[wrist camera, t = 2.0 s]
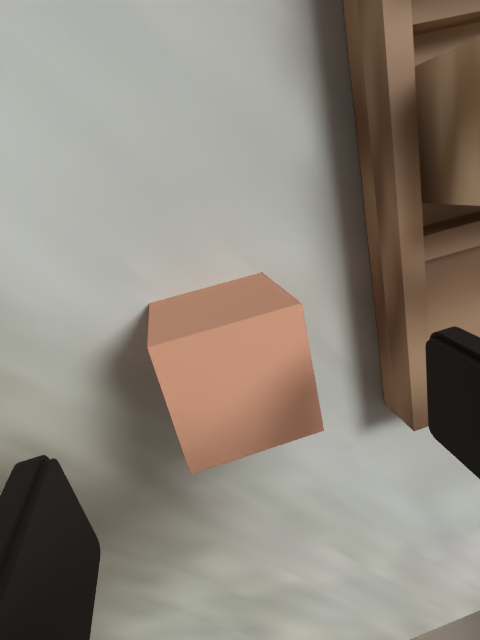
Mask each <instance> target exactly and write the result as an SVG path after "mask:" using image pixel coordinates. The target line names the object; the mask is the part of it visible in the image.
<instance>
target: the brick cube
mask: <svg viewBox="0 0 480 640" xmlns="http://www.w3.org/2000/svg"><path fill="white" fill-rule="evenodd" d="M147 348H148V351H149V354H150V357H151V360H152V363H153V366H154V369H155V372H156V375H157V378H158V381H159V384H160V386H161V389H162V392H163V395H164V398H165V401H166V404H167V407H168V410H169V413H170V416H171V419H172V422H173V425H174V427H175V430H176V433H177V436H178V439H179V442H180V445H181V448H182V451H183V454H184V457H185V460H186V463H187V466H188V468H189V471H190V474H194V473H197V472H200V471H203V470H206V469H209V468H212V467H215V466H218V465H221V464H224V463H227V462H230V461H233V460H236V459H239V458H242V457H245V456H248V455H251V454H254V453H257V452H260V451H263V450H266V449H269V448H272V447H275V446H278V445H281V444H284V443H287V442H290V441H294V440H297V439H300V438H303V437H306V436H309V435H312V434H315V433H318V432H321V431H324V428H323V422H322V416H321V411H320V405H319V399H318V394H317V388H316V382H315V376H314V371H313V365H312V359H311V354H310V348H309V342H308V336H307V331H306V325H305V319H304V314H303V308H302V303H301V302H300V301H298V300H297V299H296V298H294V297H293V296H292V295H290V294H289V293H288V292H287V291H285V290H284V289H283V288H281V287H280V286H279V285H278V284H276V283H275V282H274V281H272V280H271V279H270V278H269V277H267V276H266V275H265V274H263V273H258V274H255V275H251V276H247V277H244V278H240V279H237V280H233V281H229V282H226V283H222V284H218V285H215V286H211V287H207V288H204V289H200V290H196V291H193V292H189V293H185V294H182V295H178V296H175V297H171V298H167V299H164V300H160V301H156V302H153V303H149V321H148V342H147Z"/></svg>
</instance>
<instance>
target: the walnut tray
mask: <svg viewBox="0 0 480 640" xmlns="http://www.w3.org/2000/svg"><path fill="white" fill-rule="evenodd" d="M343 5H344V15H345V25H346V34H347V44H348V54H349V63H350V73H351V83H352V92H353V102H354V112H355V121H356V131H357V141H358V150H359V160H360V169H361V179H362V189H363V198H364V208H365V218H366V227H367V237H368V247H369V256H370V266H371V276H372V285H373V295H374V305H375V314H376V324H377V334H378V343H379V353H380V363H381V372H382V382H383V392H384V401H385V405H387V406H388V407H389V408H390V409H391V410H392V411H393V412H394V413H395V414H396V415H397V416H398V417H399V418H400V419H402V420H403V421H404V422H405V423H406V424H407V425H408V426H409V427H410V428H411V429H412V430H413V431H416V430H419V429H422V428H425V427H428V405H427V378H426V350H425V346H426V342H427V341H428V340H429V339H430V336H431V334H432V333H434V332H437V331H440V330H443V329H446V328H450V327H454V326H456V327H459V328H461V329H463V330H465V331H467V332H469V333H471V334H474V335H476V336H478V337H480V0H343Z"/></svg>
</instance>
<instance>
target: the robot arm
mask: <svg viewBox="0 0 480 640" xmlns="http://www.w3.org/2000/svg"><path fill="white" fill-rule="evenodd" d="M425 350H426V378H427V405H428V426H429V429H430V432H431V434H432V435H433V436H434V438H435V439H436V440H437V441H438V442H440V443H441V444H442V445H443V446H444V447H445V448H446V449H447V450H448V451H450V452H451V453H452V454H453V455H454V456H455V457H456V458H457V459H458V460H459V461H461V462H462V463H463V464H464V465H465V466H466V467H467V468H468V469H469V470H470V471H472V472H473V473H474V474H475V475H476V476H477V477H478V478H479V479H480V337H478V336H476V335H474V334H471V333H469V332H467V331H465V330H463V329H461V328H459V327H456V326H454V327H450V328H446V329H443V330H440V331H437V332H434V333H432V334H431V336H430V339H429V340H428V341H427V342H426V346H425ZM99 562H100V545H99V541H98V539H97V537H96V535H95V533H94V531H93V529H92V527H91V525H90V523H89V521H88V519H87V517H86V515H85V513H84V511H83V509H82V507H81V505H80V503H79V501H78V499H77V497H76V495H75V493H74V491H73V489H72V487H71V486H70V484H69V482H68V480H67V478H66V476H65V474H64V472H63V470H62V468H61V466H60V464H59V462H58V461H57V460H56V459H54V458H53V459H50V460H49V458H48V457H47V456H45V455H42V456H38V457H35V458H32V459H29V460H26V461H22V462H19V463H17V464H16V465H15V466H14V468H13V470H12V472H11V474H10V476H9V479H8V481H7V483H6V485H5V487H4V489H3V491H2V493H1V496H0V640H89V639H90V632H91V624H92V616H93V608H94V601H95V593H96V585H97V577H98V569H99ZM410 640H480V611H477V612H475V613H473V614H470V615H468V616H465V617H463V618H461V619H458V620H456V621H454V622H451V623H449V624H446V625H444V626H442V627H439V628H437V629H434V630H432V631H430V632H427V633H425V634H422V635H420V636H418V637H415V638H413V639H410Z"/></svg>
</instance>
